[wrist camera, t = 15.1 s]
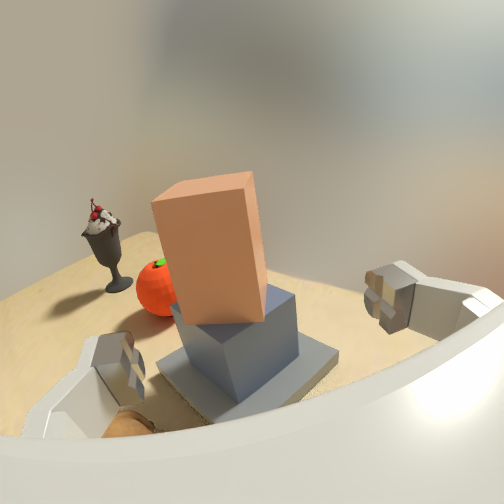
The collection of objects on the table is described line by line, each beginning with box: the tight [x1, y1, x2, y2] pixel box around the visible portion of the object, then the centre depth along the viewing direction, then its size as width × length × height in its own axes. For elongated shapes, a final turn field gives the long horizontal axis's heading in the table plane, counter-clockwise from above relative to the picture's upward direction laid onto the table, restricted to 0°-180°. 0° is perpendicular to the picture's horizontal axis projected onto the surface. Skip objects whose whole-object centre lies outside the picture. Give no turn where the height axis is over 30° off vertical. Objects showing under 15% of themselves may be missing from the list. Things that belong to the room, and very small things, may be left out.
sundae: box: [81, 198, 133, 293], centre depth 42 cm, size 7×7×15 cm
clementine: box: [136, 258, 177, 316], centre depth 36 cm, size 8×7×7 cm
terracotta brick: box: [151, 171, 267, 325], centre depth 21 cm, size 6×6×9 cm
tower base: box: [155, 283, 339, 425], centre depth 24 cm, size 12×12×8 cm
